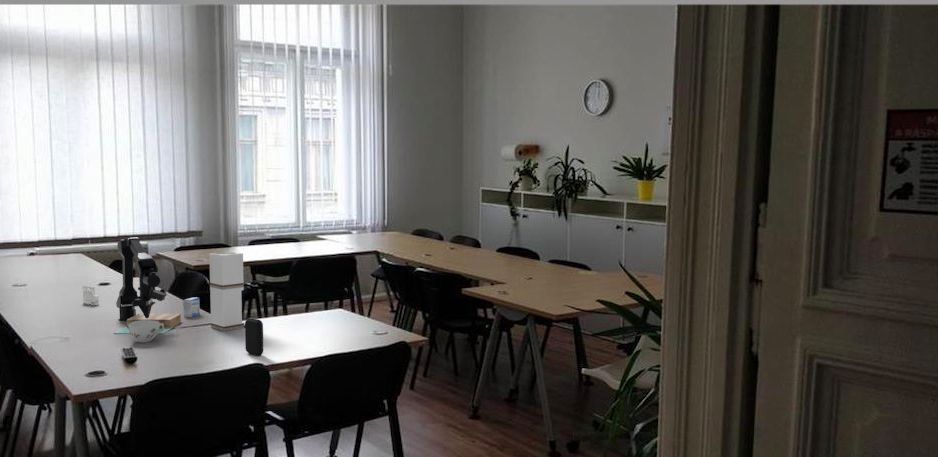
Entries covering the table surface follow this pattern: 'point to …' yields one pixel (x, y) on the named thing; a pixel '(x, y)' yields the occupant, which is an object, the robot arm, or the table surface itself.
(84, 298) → the ink cartridge box
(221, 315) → the white square table lamp
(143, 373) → the table surface
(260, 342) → the carrying case or bag
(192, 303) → the medicine box
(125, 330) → the mat
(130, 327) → the teacup
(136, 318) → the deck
